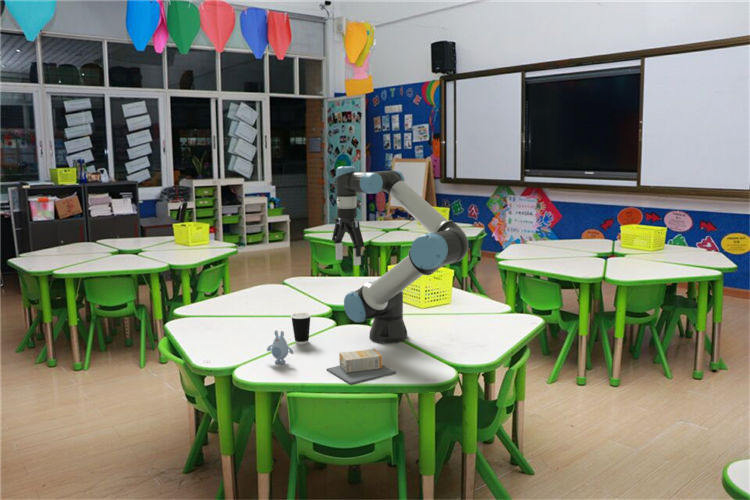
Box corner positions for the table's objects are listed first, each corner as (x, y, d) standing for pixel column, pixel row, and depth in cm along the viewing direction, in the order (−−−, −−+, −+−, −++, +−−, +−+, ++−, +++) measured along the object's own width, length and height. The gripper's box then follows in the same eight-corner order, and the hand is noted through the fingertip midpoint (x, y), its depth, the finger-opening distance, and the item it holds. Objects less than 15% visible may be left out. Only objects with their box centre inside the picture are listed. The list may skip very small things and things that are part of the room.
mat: (370, 360, 234) (370, 358, 234) (395, 373, 220) (395, 371, 220) (326, 370, 224) (326, 368, 224) (350, 384, 211) (350, 382, 211)
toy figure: (263, 364, 231) (261, 331, 229) (271, 358, 237) (270, 326, 235) (289, 367, 227) (288, 334, 225) (297, 361, 233) (296, 329, 231)
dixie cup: (315, 343, 253) (314, 316, 251) (295, 346, 250) (294, 319, 248) (307, 338, 260) (306, 311, 258) (288, 341, 257) (287, 314, 255)
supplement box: (374, 361, 231) (339, 365, 227) (374, 348, 230) (339, 352, 226) (382, 369, 223) (345, 373, 219) (382, 355, 222) (345, 359, 218)
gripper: (322, 205, 255) (324, 258, 258) (355, 210, 234) (356, 268, 238) (339, 204, 259) (340, 256, 262) (372, 209, 238) (373, 266, 242)
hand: (348, 262), depth 250 cm, fingers open, 13 cm apart
